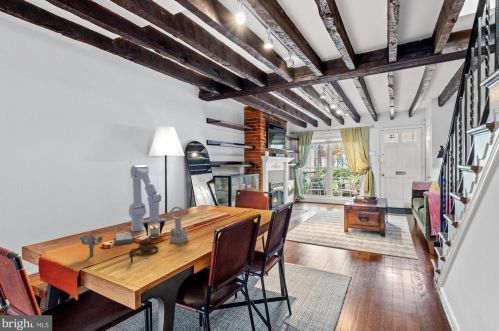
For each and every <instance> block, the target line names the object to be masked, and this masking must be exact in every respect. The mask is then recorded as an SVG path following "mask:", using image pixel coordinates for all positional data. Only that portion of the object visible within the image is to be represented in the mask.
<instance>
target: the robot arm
mask: <svg viewBox="0 0 499 331" xmlns="http://www.w3.org/2000/svg"><path fill="white" fill-rule="evenodd" d="M149 169H150V168H149V167H148V165H146V164H145V165H132V166H131V167H130V178H132V191H133V192H132V195H133V199H132V200H133V202H132V203H130V205H129V209H128V216H129V217H131V227H130V232H131V233H132V232H139V231H140V232H141V231H145V232H146V236H149V224H155V223H157V224H158V223H159V235H162V231H163V228H164V227H165V224H166V222H167V218H160V202H161V201H162V195H161V193H160V192H158V191H157V189H156V187H155V184H153V183H152V182H151V180H150V176H149V173H150V172H149V171H150V170H149ZM142 182H143V183H144V190H145V192H146V195H147V198H146V199H147V203H148V208H149V209H148V210H149V212H148V213H149V214H148V219H144V217H145V215H146V214H147V209H146V208H147V207H146V204H145V203H144V202H142Z"/></svg>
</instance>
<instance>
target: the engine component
mask: <svg viewBox="0 0 499 331" xmlns="http://www.w3.org/2000/svg"><path fill="white" fill-rule="evenodd" d="M176 209H178V210H179V211H180V212H181V215H180V216H179V217H176V216H175V215H174V210H176ZM169 217H170V218H172V219H173V220H174V226H175V227H173V228H170V230H169V235H170V236H169V242H170V243H172V244H181V243H185V242H187V241H188V228H185V230H184V229H183V228H182V218H184V217H186V211H185V210H184V208H183V207H182V206H179V205H178V206H173V208H171V210H169Z"/></svg>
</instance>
